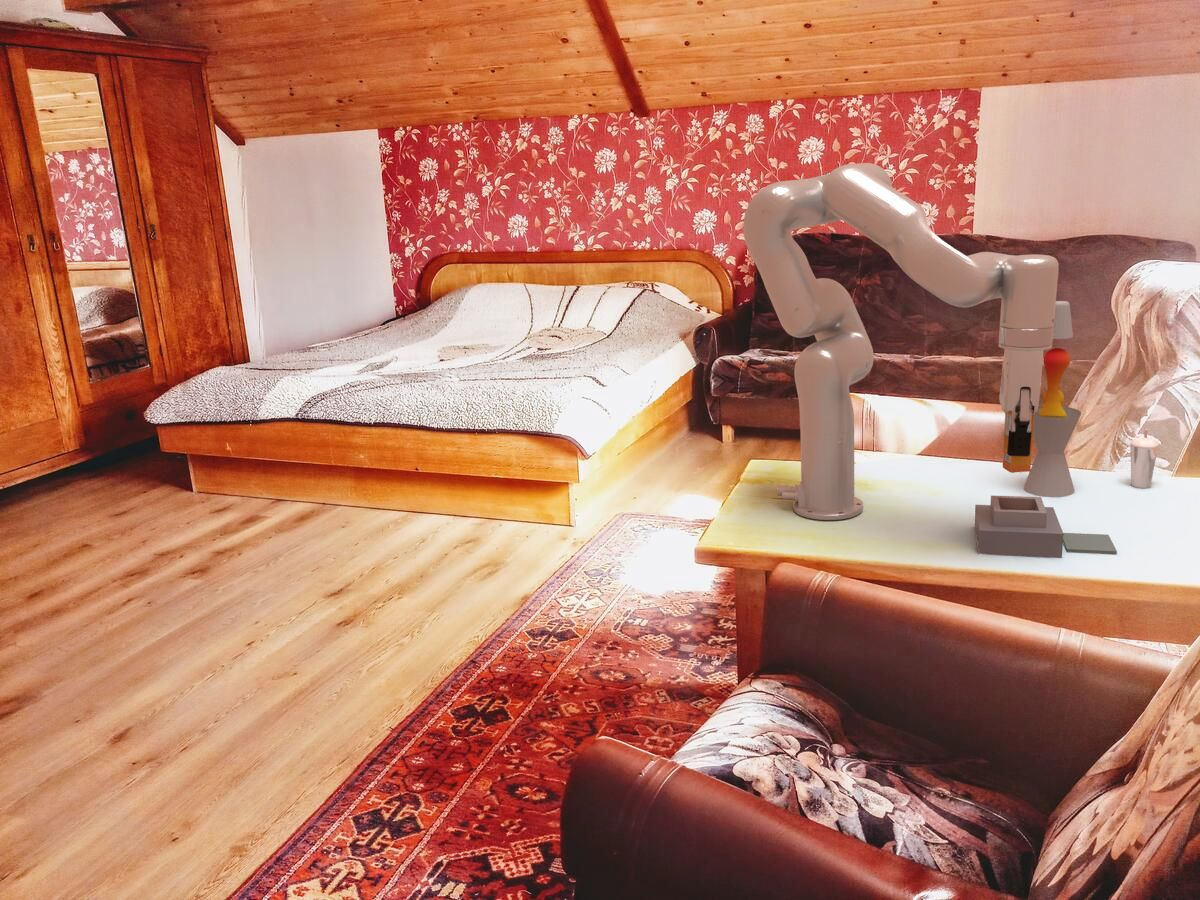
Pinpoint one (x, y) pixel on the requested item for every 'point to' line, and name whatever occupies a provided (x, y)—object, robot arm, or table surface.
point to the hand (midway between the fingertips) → (1016, 450)
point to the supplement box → (1015, 462)
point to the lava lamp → (1053, 420)
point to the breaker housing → (1018, 528)
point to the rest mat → (1088, 543)
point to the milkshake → (1143, 460)
